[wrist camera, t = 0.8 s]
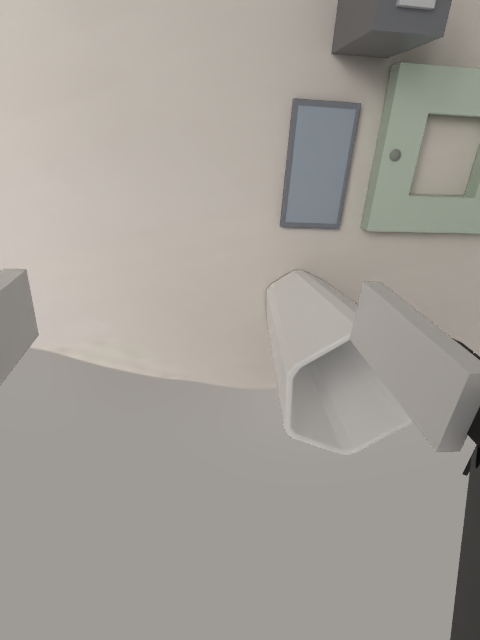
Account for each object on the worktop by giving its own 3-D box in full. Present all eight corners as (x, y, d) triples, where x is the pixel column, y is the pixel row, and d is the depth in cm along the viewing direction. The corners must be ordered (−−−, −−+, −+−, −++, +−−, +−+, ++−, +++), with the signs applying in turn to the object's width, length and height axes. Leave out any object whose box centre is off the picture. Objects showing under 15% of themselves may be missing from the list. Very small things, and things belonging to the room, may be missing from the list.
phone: (291, 99, 33) (294, 98, 32) (355, 104, 34) (361, 103, 32) (278, 224, 38) (281, 227, 37) (335, 226, 38) (339, 229, 37)
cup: (335, 340, 44) (410, 448, 29) (251, 347, 43) (283, 462, 28) (345, 249, 39) (441, 322, 24) (250, 255, 38) (288, 334, 23)
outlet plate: (391, 65, 32) (402, 61, 30) (535, 76, 34) (552, 74, 32) (360, 227, 38) (367, 231, 37) (483, 230, 40) (495, 234, 38)
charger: (341, -25, 29) (393, -79, 21) (401, -18, 30) (471, -69, 22) (331, 53, 31) (375, 28, 24) (387, 58, 32) (446, 35, 24)
